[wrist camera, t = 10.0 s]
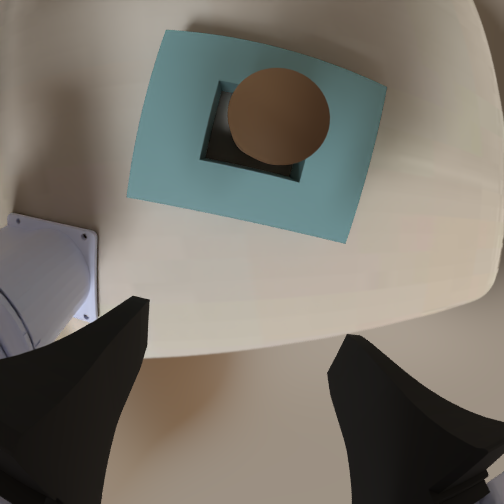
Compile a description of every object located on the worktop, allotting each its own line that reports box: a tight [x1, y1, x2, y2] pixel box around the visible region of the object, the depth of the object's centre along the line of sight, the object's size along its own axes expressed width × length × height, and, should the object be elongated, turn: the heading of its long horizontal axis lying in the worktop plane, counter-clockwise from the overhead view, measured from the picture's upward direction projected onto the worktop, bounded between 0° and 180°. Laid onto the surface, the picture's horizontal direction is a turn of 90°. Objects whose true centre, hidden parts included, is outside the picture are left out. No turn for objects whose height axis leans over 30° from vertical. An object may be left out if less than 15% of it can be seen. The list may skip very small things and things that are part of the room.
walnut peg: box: [228, 68, 330, 165], centre depth 12 cm, size 3×3×10 cm
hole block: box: [127, 30, 387, 244], centre depth 15 cm, size 13×10×3 cm
